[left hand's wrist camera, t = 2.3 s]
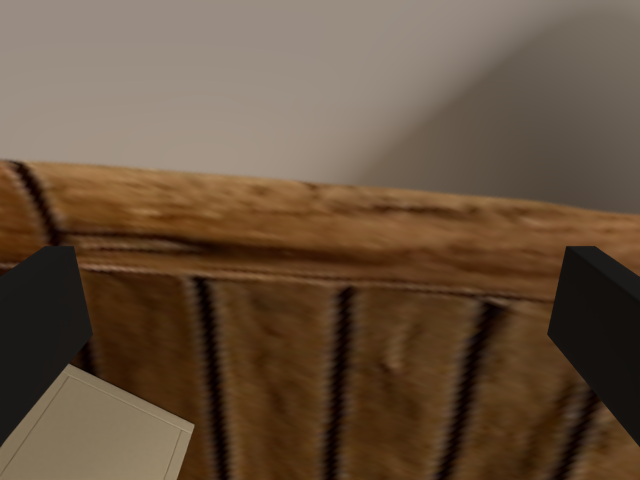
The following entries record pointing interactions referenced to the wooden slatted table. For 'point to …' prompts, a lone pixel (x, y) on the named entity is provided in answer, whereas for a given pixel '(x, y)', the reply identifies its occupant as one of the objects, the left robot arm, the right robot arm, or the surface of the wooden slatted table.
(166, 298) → the wooden slatted table surface
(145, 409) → the chest
